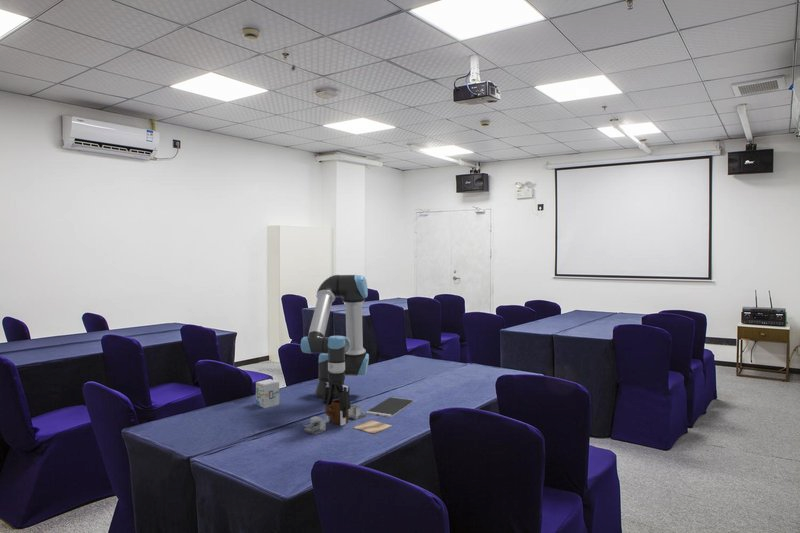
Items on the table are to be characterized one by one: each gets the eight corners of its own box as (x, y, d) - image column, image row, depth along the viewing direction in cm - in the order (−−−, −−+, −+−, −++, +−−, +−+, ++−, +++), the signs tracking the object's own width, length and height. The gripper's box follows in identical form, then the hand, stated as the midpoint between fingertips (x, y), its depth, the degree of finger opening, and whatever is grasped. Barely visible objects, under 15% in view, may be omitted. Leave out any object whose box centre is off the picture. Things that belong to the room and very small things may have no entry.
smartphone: (365, 415, 236) (365, 411, 236) (389, 400, 261) (389, 396, 261) (390, 418, 231) (390, 415, 231) (413, 403, 255) (413, 399, 255)
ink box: (255, 404, 250) (255, 381, 250) (270, 401, 256) (270, 378, 256) (264, 408, 244) (264, 384, 244) (279, 404, 250) (279, 381, 250)
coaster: (353, 428, 216) (353, 427, 216) (371, 421, 226) (371, 420, 226) (374, 434, 209) (374, 433, 209) (392, 426, 218) (392, 425, 218)
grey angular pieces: (300, 432, 211) (300, 420, 210) (354, 413, 237) (354, 402, 237) (312, 436, 206) (312, 423, 206) (366, 416, 232) (366, 405, 232)
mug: (331, 428, 215) (331, 406, 215) (320, 424, 220) (320, 403, 220) (352, 421, 224) (352, 401, 224) (340, 418, 229) (340, 397, 229)
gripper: (314, 369, 225) (314, 420, 225) (347, 376, 213) (347, 430, 213) (326, 366, 231) (326, 416, 231) (359, 373, 219) (359, 425, 219)
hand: (336, 422), depth 222 cm, fingers closed on mug, 7 cm apart
